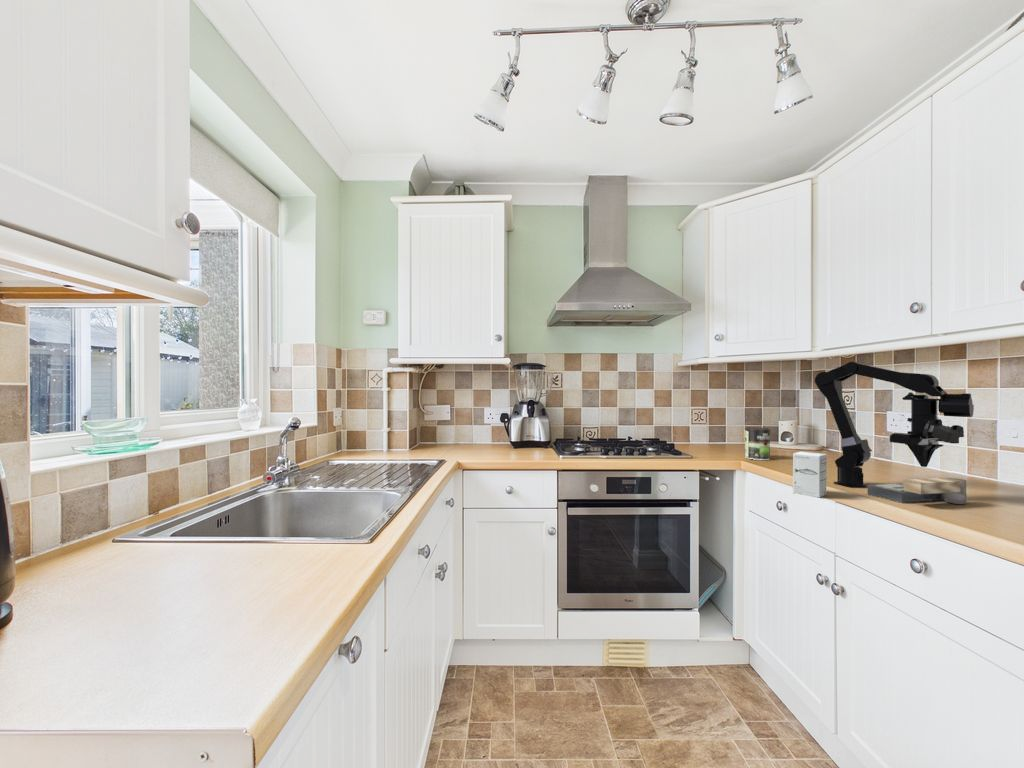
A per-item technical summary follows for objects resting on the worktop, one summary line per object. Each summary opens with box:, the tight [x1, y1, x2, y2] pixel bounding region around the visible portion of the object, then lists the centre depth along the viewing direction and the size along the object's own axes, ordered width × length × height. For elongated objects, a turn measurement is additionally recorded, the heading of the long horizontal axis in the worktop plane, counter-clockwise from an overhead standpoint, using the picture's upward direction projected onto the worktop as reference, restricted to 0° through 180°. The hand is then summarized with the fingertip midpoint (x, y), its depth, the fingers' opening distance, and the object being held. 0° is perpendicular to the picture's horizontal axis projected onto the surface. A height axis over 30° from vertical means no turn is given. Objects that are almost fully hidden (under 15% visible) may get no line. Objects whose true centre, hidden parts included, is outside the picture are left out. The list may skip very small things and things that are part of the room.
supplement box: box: [792, 450, 828, 499], centre depth 137 cm, size 7×7×13 cm
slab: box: [867, 482, 945, 504], centre depth 133 cm, size 10×20×3 cm, turn 101°
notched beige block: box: [903, 477, 967, 505], centre depth 125 cm, size 18×4×6 cm, turn 102°
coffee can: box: [744, 427, 771, 461], centre depth 205 cm, size 10×10×14 cm
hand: (923, 466), depth 134 cm, fingers closed
